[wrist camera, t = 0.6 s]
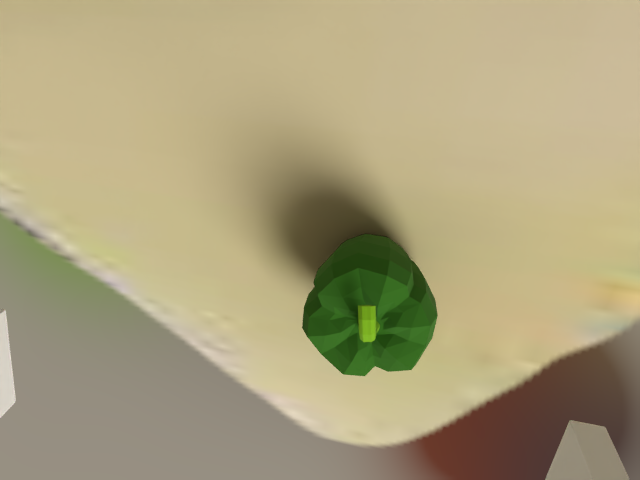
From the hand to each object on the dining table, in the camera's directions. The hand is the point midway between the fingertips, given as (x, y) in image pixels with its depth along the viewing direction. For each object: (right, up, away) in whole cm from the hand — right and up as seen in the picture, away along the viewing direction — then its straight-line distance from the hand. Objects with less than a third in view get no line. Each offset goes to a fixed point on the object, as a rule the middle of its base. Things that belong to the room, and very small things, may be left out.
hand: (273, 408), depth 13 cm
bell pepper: (+5, +2, +28) cm, 29 cm away
